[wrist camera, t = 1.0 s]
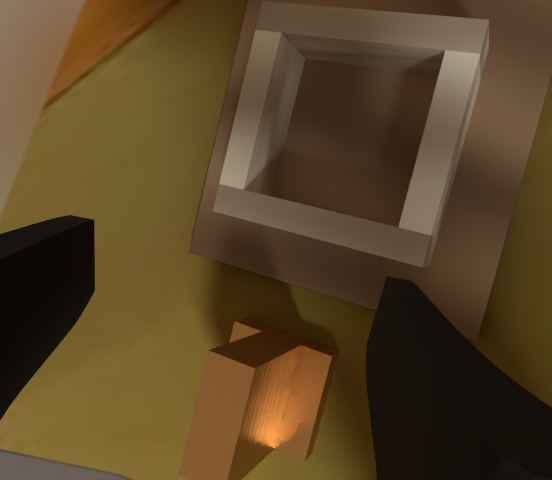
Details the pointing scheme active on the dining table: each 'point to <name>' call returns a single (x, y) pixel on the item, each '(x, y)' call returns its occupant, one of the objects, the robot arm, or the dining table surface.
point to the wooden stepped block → (256, 402)
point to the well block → (377, 145)
